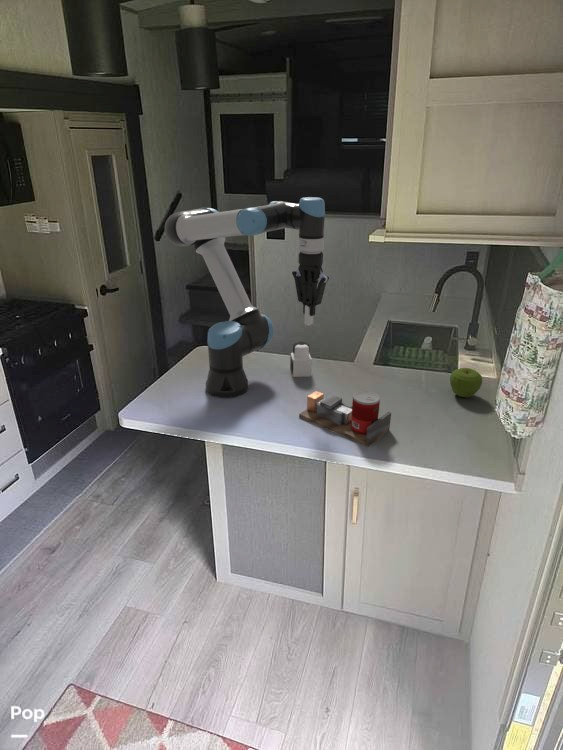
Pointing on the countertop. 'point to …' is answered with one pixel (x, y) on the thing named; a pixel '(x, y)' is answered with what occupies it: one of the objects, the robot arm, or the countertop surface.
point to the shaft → (347, 412)
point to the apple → (465, 382)
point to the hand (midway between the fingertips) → (308, 324)
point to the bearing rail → (333, 422)
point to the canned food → (364, 411)
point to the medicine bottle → (301, 360)
